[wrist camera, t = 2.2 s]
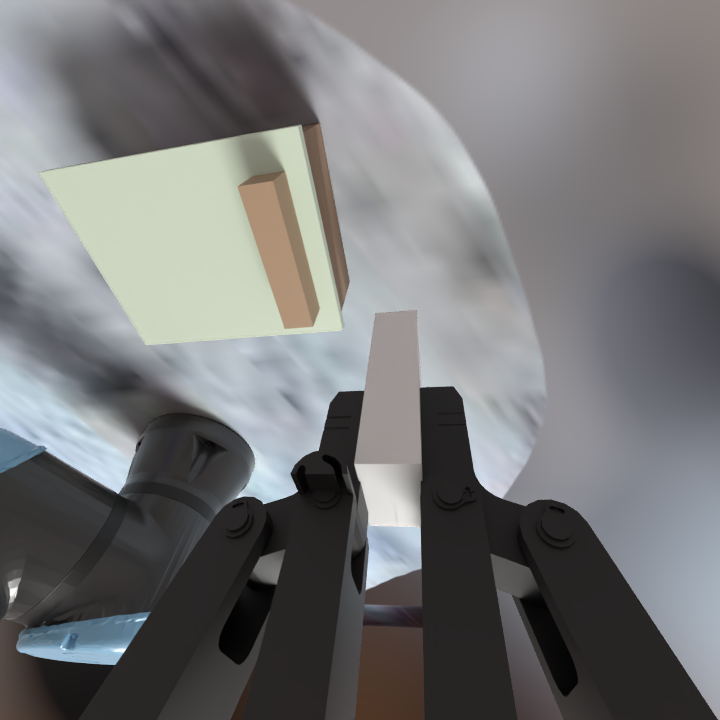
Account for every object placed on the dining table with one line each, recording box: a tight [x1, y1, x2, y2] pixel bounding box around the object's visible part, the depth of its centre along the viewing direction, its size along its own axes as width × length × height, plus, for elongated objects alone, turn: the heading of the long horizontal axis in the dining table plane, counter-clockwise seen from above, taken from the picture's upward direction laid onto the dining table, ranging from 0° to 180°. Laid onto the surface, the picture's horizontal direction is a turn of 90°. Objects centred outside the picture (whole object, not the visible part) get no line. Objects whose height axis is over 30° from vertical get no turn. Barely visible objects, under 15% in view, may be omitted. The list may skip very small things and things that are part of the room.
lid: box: [39, 124, 344, 345], centre depth 24 cm, size 17×13×3 cm
